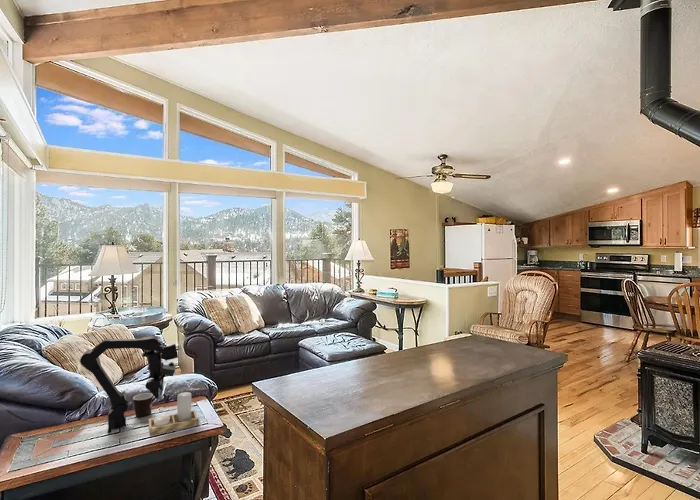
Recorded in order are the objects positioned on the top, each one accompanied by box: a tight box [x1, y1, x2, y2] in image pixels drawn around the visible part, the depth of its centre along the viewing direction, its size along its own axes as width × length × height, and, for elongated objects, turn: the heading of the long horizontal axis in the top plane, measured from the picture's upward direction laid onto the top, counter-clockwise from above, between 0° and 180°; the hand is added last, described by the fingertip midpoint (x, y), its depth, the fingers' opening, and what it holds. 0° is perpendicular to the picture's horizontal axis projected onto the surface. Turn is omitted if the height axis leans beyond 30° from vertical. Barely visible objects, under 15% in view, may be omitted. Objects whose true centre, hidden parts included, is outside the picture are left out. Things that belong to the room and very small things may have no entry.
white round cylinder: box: [154, 414, 170, 427], centre depth 177 cm, size 6×6×4 cm
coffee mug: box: [132, 392, 154, 419], centre depth 191 cm, size 12×9×10 cm
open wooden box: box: [148, 410, 199, 436], centre depth 179 cm, size 20×11×4 cm, turn 119°
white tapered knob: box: [176, 391, 192, 422], centre depth 181 cm, size 6×6×13 cm
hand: (159, 393), depth 186 cm, fingers open, 9 cm apart
